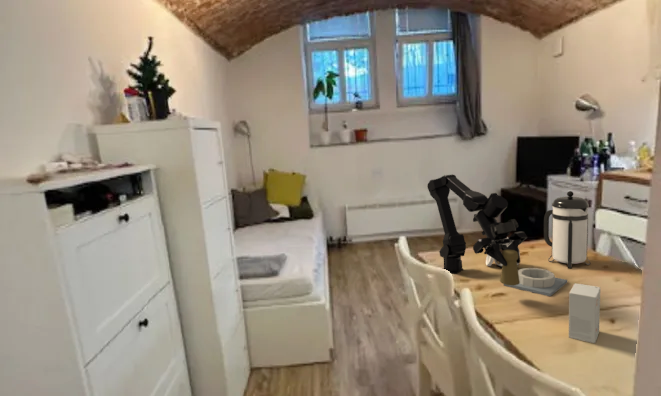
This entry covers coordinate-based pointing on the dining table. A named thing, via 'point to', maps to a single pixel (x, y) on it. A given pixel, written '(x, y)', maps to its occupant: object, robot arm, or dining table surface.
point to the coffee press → (568, 229)
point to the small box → (584, 312)
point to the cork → (510, 268)
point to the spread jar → (490, 260)
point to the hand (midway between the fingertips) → (512, 264)
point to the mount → (538, 281)
